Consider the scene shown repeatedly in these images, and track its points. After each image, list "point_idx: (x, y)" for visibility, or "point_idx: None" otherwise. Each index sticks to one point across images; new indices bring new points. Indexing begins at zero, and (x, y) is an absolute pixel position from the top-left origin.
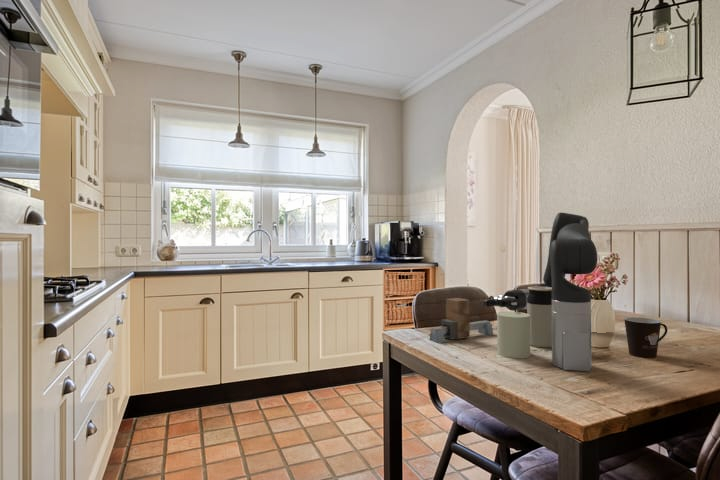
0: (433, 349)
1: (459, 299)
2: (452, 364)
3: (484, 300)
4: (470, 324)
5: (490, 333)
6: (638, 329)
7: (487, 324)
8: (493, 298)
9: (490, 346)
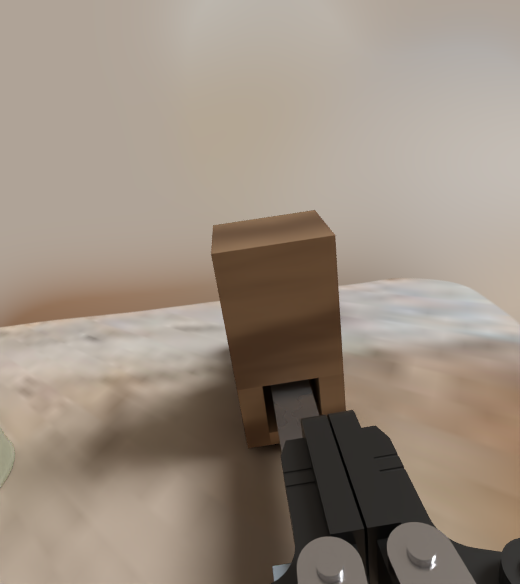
0: (192, 320)
1: (262, 233)
2: (65, 320)
3: (345, 412)
4: (277, 422)
5: None
6: None
7: (278, 566)
8: None
9: (80, 467)
